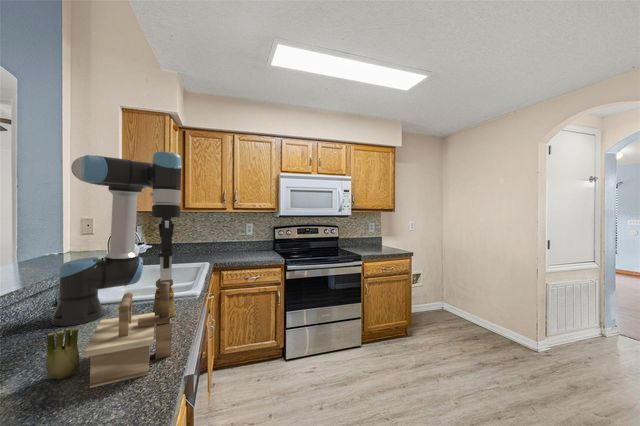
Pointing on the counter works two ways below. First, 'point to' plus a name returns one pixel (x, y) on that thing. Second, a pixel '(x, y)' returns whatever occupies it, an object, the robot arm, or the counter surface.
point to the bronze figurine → (157, 299)
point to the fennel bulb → (62, 354)
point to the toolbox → (129, 360)
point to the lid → (120, 331)
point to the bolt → (163, 311)
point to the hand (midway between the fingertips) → (165, 275)
